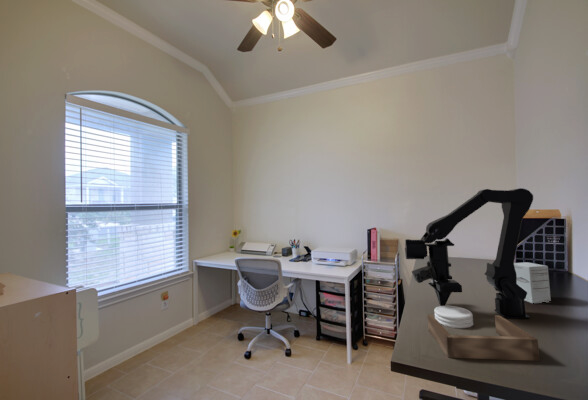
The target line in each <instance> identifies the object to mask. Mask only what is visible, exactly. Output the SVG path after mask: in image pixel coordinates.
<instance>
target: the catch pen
mask: <svg viewBox="0 0 588 400" xmlns="http://www.w3.org/2000/svg"><path fill="white" fill-rule="evenodd" d="M426 315H427V317H426V318H427V326H428V327H427V329H428V332H429V333H430V335H431V336H432V337H433V339H434V340H435V342H436V343H437V344H438V345H439V347H440V348H441V350H442V351H443V352H444V354H445V355H446V356H447V357H448V358H449V359H450V358H452V359H454V358H455V359H475V360H476V359H477V360H478V359H479V360H480V359H481V360H482V359H483V360H507V361H508V360H510V361H512V360H513V361H532V362H533V361H535V362H536V361H539V362H540V360H541V359H540V351H539V340H538V339H537V338H535V337H534V336H532V335H531V334H530V333H528V332H526V331H525V330H523V329H522V328H520V327H518V326H517V325H515V324H514V323H512V322H511V321H509V320H508V319H507V318H505V317H504V316H502V315H500V314H499V315H497V314H496V315H494V320H495V321H494V323H495V333H497V336H496V335H495V336H494V335H492V336H491V335H465V334H464V335H463V334H462V335H458V334H456V335H455V334H450V333H449V332H448V331H447V330H446V328H445V327H444V325H441V324H440V323H439V322H438V321H437V320H436V319H435V315H433V314H426Z"/></svg>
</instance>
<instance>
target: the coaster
mask: <svg viewBox="0 0 588 400" xmlns="http://www.w3.org/2000/svg"><path fill="white" fill-rule="evenodd" d="M433 312H434V315H433V316H434V317H435V319H436V320H437V321H438V322H439V323H440V324H442V326H443V327H444V326H445V327H447V326H448V328H453V329H468V328H469V329H470V328H472V327H473V325H474V318H473V317H474V316H473V312H472V311H470V310H469V309H467V308H464V307H460V306H456V305H445V306H440V305H439V306H436V307H434V310H433Z"/></svg>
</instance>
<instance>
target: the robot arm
mask: <svg viewBox="0 0 588 400" xmlns="http://www.w3.org/2000/svg"><path fill="white" fill-rule="evenodd" d="M533 201H534V194H533V193H532V192H531V191H530V190H528V189H526V188H524V187H523V188H521V187H519V188H515V189H509V190H505V189H504V190H503V189H502V190H501V189H500V190H499V189H490V188H485V189H480V190H479V191H477V193H475V194H474V195H473V196H472V197H470V198H469V199H468V200H466V201H465V202H464V203H463V202H462V204H460V205H459V206H458V207H456V208H455V209H454V210H452V211H451V212H449V213H448V214H446V215H444V216H441V217H439V218H437V219H435V220H433V221H431V222H428V224H427V225H426V229H425V232H424V234H423V235H422V237H421V238H420V239H410V238H409V239H407V238H406V239H405V243H404V244H405V245H404V246H405V247H404V254H405V260H424V259H425V258H426V257H428V259H429V261H427V262H426V266H422V267H420V268H417V269H414V270H411V274H412V275H413V278H414V281H416V282H417V283H418V284H421V283H423V282H425V281H427V280H430V282H428V285H429V286H430V287H432V288H433V290H434V292H435V294H436V295H435V296H436V298H437V301H438V304H439V306H447V305H446V304H447V302H448V300H449V299H450V296H451V294H452V293H462V292H463V286H462V284H460V282H458V281H456V280H454V279H453V276H452V275H451V273H450V267H452V263H451V262H449V249H448V247H455V244H454V243H453V242H452V241H451V240H450V239H449V238H448V237H447V236H449V234H450V233H451V232H452V231H454V229H455V227H456V226H458V224H459V223H461V222H462V221H464V220H465V219H466V218H468V217H469V216H470V215H472V214H473V213H475V212H476V211H477V210H479V209H480V208H482V207H484V205H486V204H487V203H494V204H501V210H502V214H503V219H502V225H501V230H500V234H499V235H500V236H499V241H498V246H497V250H496V257H495V259H494V261H493V262H492V263H489V262H487V263H486V271H485V273H484V275H485V276H486V281H487V282H488V284H490V286H492V287H493V288H494V290H495V291H496V292H495V298H494V304H495V305H494V306H495V309H494V311H495V312H496V313H498V314H499V315H500V316H501V317H503V318H505V319H530V316H529V315H528V314H526V303H525V302H526V301H524V299H525V298H526V295H527V292H526V291H525V290H524V289H522V288H521V287H520V286H519V285H517V275H516V271H515V267H514V263H515V260H516V259H515V258H516V253H517V249H518V243H519V240H520V233H521V228H522V224H523V223H522V222H523V219H524V217H525V216H526V215H527V213H528V212H529V211H530V208H531V206H532V204H533Z"/></svg>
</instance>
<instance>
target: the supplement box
mask: <svg viewBox="0 0 588 400" xmlns="http://www.w3.org/2000/svg"><path fill="white" fill-rule="evenodd" d="M514 267H515V271H516V275H517V285H519V286H520V287H521V288H522V289H524V290H525V291H526V292H527V295H526V298H525V299H524V301H525V302H527V303H530V304H533V303H534V304H543V303H542V302H546V303H550V302H549V301H552V299H551V288H550V275H549V266H548V265H545V264H538V263H534V262H530V261H529V262H528V261H527V262H526V261H525V262H514Z"/></svg>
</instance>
